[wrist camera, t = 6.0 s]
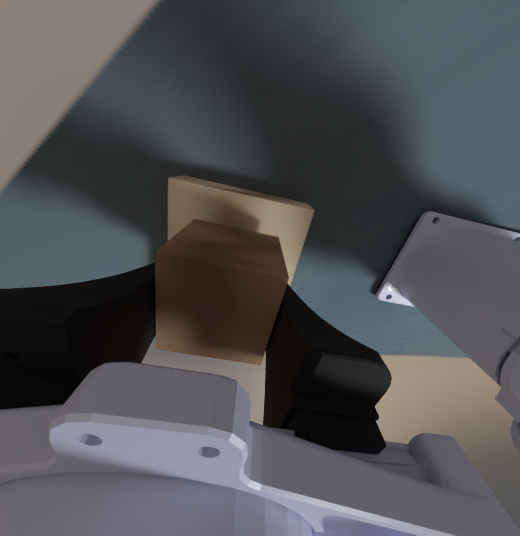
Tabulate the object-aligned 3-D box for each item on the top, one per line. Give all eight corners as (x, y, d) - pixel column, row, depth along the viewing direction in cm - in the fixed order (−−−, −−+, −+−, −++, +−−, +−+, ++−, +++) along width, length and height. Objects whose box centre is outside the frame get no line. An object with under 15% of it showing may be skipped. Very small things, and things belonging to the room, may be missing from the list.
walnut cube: (278, 236, 12) (289, 278, 8) (260, 303, 15) (260, 364, 10) (194, 218, 12) (155, 252, 7) (188, 290, 14) (155, 349, 10)
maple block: (305, 202, 16) (314, 210, 13) (276, 297, 20) (278, 319, 17) (184, 174, 15) (168, 177, 12) (180, 280, 19) (166, 300, 16)
